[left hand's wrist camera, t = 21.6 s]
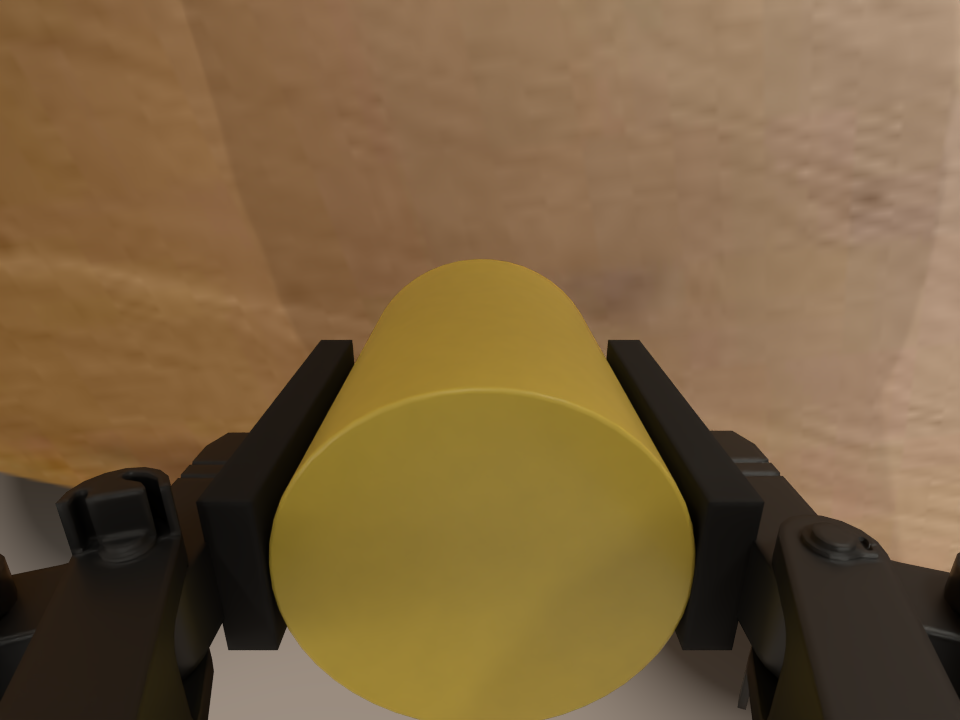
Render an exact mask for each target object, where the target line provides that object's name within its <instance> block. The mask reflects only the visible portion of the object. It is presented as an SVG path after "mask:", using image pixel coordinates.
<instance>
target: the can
mask: <svg viewBox="0 0 960 720" xmlns="http://www.w3.org/2000/svg"><path fill="white" fill-rule="evenodd" d="M695 555H696V546H695V539H694V532H693V525H692V522H691V519H690V515H689V512H688V509H687V506H686V503H685V501H684V499H683V497H682V495H681V493H680V491H679V489H678V487H677V485H676V483H675V481H674V479H673V477H672V476H671V474H670V472H669V470H668V468H667V467H666V465H665V463H664V461H663V459H662V458H661V456H660V454H659V452H658V451H657V449H656V447H655V445H654V443H653V442H652V440H651V438H650V436H649V435H648V433H647V431H646V429H645V427H644V426H643V424H642V422H641V420H640V418H639V417H638V415H637V413H636V411H635V410H634V408H633V406H632V404H631V402H630V401H629V399H628V397H627V395H626V394H625V392H624V390H623V388H622V386H621V385H620V383H619V381H618V379H617V378H616V376H615V374H614V372H613V370H612V369H611V367H610V365H609V363H608V361H607V360H606V358H605V356H604V354H603V353H602V351H601V349H600V347H599V345H598V344H597V342H596V340H595V338H594V337H593V335H592V333H591V331H590V329H589V328H588V326H587V324H586V322H585V320H584V319H583V317H582V315H581V313H580V312H579V310H578V309H577V308H576V306H575V305H574V303H573V302H572V300H571V299H570V298H569V297H568V296H567V295H566V294H565V293H564V292H563V291H562V290H561V289H560V288H559V287H557V286H556V285H555V284H554V283H552V282H551V281H550V280H548V279H547V278H545V277H543V276H542V275H540V274H539V273H537V272H535V271H532V270H530V269H528V268H526V267H523V266H520V265H517V264H513V263H510V262H505V261H499V260H492V259H473V260H464V261H458V262H454V263H450V264H446V265H443V266H440V267H438V268H435V269H432V270H430V271H428V272H426V273H425V274H423V275H421V276H419V277H417V278H416V279H414V280H413V281H412V282H410V283H409V284H408V285H406V286H405V287H404V288H403V289H402V290H401V291H400V292H399V293H398V294H397V295H396V296H395V297H394V298H393V299H392V301H391V302H390V303H389V304H388V306H387V307H386V308H385V310H384V312H383V313H382V315H381V317H380V319H379V321H378V322H377V324H376V326H375V328H374V330H373V331H372V333H371V335H370V337H369V339H368V341H367V342H366V344H365V346H364V348H363V350H362V351H361V353H360V355H359V357H358V359H357V361H356V362H355V364H354V366H353V368H352V370H351V372H350V373H349V375H348V377H347V379H346V381H345V382H344V384H343V386H342V388H341V390H340V392H339V393H338V395H337V397H336V399H335V401H334V402H333V404H332V406H331V408H330V410H329V412H328V413H327V415H326V417H325V419H324V421H323V423H322V424H321V426H320V428H319V430H318V432H317V433H316V435H315V437H314V439H313V441H312V443H311V444H310V446H309V448H308V450H307V452H306V453H305V455H304V457H303V459H302V461H301V463H300V464H299V466H298V468H297V470H296V472H295V473H294V475H293V477H292V479H291V481H290V483H289V484H288V486H287V488H286V490H285V492H284V494H283V495H282V497H281V500H280V503H279V506H278V508H277V511H276V514H275V517H274V519H273V525H272V530H271V535H270V541H269V569H270V576H271V582H272V589H273V592H274V595H275V598H276V602H277V605H278V608H279V611H280V613H281V615H282V617H283V619H284V621H285V623H286V625H287V627H288V629H289V630H290V632H291V633H292V635H293V636H294V638H295V639H296V641H297V642H298V644H299V645H300V646H301V648H302V649H303V650H304V651H305V652H306V653H307V655H308V656H309V657H310V658H311V659H312V660H313V661H314V662H315V663H316V665H318V666H319V667H320V668H321V669H322V670H323V671H325V672H326V673H327V674H328V675H329V676H330V677H331V678H333V679H334V680H335V681H337V682H338V683H340V684H341V685H343V686H344V687H345V688H347V689H348V690H350V691H351V692H353V693H355V694H356V695H358V696H360V697H362V698H364V699H366V700H368V701H370V702H372V703H373V704H376V705H378V706H381V707H383V708H386V709H388V710H390V711H393V712H395V713H399V714H402V715H405V716H409V717H412V718H416V719H419V720H545V719H548V718H552V717H556V716H559V715H563V714H566V713H568V712H571V711H573V710H576V709H579V708H581V707H584V706H586V705H588V704H590V703H592V702H594V701H596V700H598V699H600V698H602V697H604V696H606V695H608V694H609V693H611V692H613V691H614V690H616V689H617V688H619V687H620V686H622V685H624V684H625V683H626V682H628V681H629V680H630V679H631V678H633V677H634V676H635V675H636V674H638V673H639V672H640V671H641V670H643V669H644V668H645V667H646V665H647V664H648V663H649V662H650V661H651V660H652V659H653V658H654V657H655V656H656V655H657V654H658V653H659V652H660V651H661V649H662V648H663V647H664V645H665V644H666V643H667V641H668V640H669V639H670V637H671V636H672V634H673V633H674V631H675V629H676V627H677V625H678V623H679V622H680V620H681V618H682V616H683V614H684V611H685V608H686V606H687V603H688V600H689V598H690V593H691V588H692V582H693V576H694V570H695Z"/></svg>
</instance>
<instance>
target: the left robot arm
mask: <svg viewBox="0 0 960 720" xmlns="http://www.w3.org/2000/svg"><path fill="white" fill-rule="evenodd" d="M606 360H607V361H608V363H609V365H610V367H611V369H612V370H613V372H614V374H615V376H616V378H617V379H618V381H619V383H620V385H621V386H622V388H623V390H624V392H625V394H626V395H627V397H628V399H629V401H630V402H631V404H632V406H633V408H634V410H635V411H636V413H637V415H638V417H639V418H640V420H641V422H642V424H643V426H644V427H645V429H646V431H647V433H648V435H649V436H650V438H651V440H652V442H653V443H654V445H655V447H656V449H657V451H658V452H659V454H660V456H661V458H662V459H663V461H664V463H665V465H666V467H667V468H668V470H669V472H670V474H671V476H672V477H673V479H674V481H675V483H676V485H677V487H678V489H679V491H680V493H681V495H682V497H683V499H684V501H685V503H686V506H687V509H688V512H689V515H690V519H691V522H692V525H693V532H694V539H695V546H696V555H695V570H694V576H693V582H692V588H691V593H690V598H689V600H688V603H687V606H686V608H685V611H684V614H683V616H682V618H681V620H680V622H679V623H678V625H677V627H676V629H675V632H676V634H677V637H678V639H679V642H680V644H681V647H682V649H683V650H732V647H733V643H734V638H735V634H736V629H737V625H738V621H739V622H740V624H741V626H742V628H743V630H744V632H745V634H746V636H747V637H748V639H749V641H750V643H751V649H750V653H749V657H748V661H747V665H746V670H745V674H744V678H743V682H742V686H741V691H740V695H739V701H738V708H741V709H746V706H747V702H748V698H749V696H750V704H751V713H752V720H960V553H958V554H957V556H956V559H955V561H954V564H953V566H952V569H951V572H950V573H949V572H944V571H939V570H934V569H929V568H924V567H919V566H915V565H910V564H905V563H900V562H896V561H892V560H890V558H889V556H888V554H887V553H886V552H885V551H884V549H883V548H882V547H881V546H880V544H879V543H878V542H877V541H876V540H874V539H873V538H872V537H870V536H869V535H867V534H866V533H865V532H863V531H862V530H860V529H858V528H856V527H853V526H851V525H849V524H847V523H845V522H842V521H839V520H836V519H832V518H828V517H824V516H819V515H817V514H816V513H815V512H814V511H813V509H812V508H811V507H810V506H809V505H808V504H807V503H806V502H805V500H804V499H803V498H802V497H801V496H800V495H799V494H798V493H797V491H796V490H795V489H794V488H793V487H792V486H791V485H790V484H789V482H788V481H787V480H786V479H785V478H784V477H783V476H780V472H779V471H778V470H777V469H776V468H775V467H774V465H773V464H772V463H769V462H768V459H767V458H766V456H765V455H764V454H763V453H762V452H761V451H760V450H759V449H758V447H757V446H756V445H755V444H753V443H752V442H750V441H748V440H747V439H745V438H743V437H742V436H740V435H738V434H737V433H735V432H733V431H709V429H708V428H707V427H706V426H705V424H704V423H703V422H702V420H701V419H700V418H699V417H698V415H697V414H696V413H695V411H694V410H693V409H692V407H691V406H690V405H689V404H688V402H687V401H686V400H685V398H684V397H683V396H682V395H681V393H680V392H679V391H678V389H677V388H676V387H675V386H674V384H673V383H672V382H671V380H670V379H669V378H668V377H667V375H666V374H665V373H664V371H663V370H662V369H661V367H660V366H659V365H658V364H657V362H656V361H655V360H654V358H653V357H652V356H651V355H650V353H649V352H648V351H647V349H646V348H645V347H644V346H643V344H642V343H641V342H640V340H608V348H607V359H606ZM353 366H354V355H353V343H352V340H321V341H320V342H319V343H318V345H317V346H316V347H315V349H314V350H313V351H312V353H311V354H310V355H309V356H308V358H307V359H306V360H305V362H304V363H303V364H302V365H301V367H300V368H299V369H298V371H297V372H296V373H295V374H294V376H293V377H292V378H291V380H290V381H289V382H288V383H287V385H286V386H285V387H284V389H283V390H282V391H281V393H280V394H279V395H278V396H277V398H276V399H275V400H274V402H273V403H272V404H271V405H270V407H269V408H268V409H267V411H266V412H265V413H264V414H263V416H262V417H261V418H260V420H259V421H258V422H257V424H256V425H255V426H254V427H253V429H252V430H251V431H250V433H227V434H225V435H224V436H222V437H220V438H219V439H217V440H215V441H214V442H212V443H210V444H209V445H207V446H206V447H205V448H204V449H203V450H202V451H201V453H200V454H199V455H198V456H197V457H196V458H195V459H194V461H193V463H192V465H189V466H188V467H187V468H186V470H185V471H184V472H183V473H182V474H181V478H178V479H177V480H176V481H175V482H174V483H173V484H172V485H171V484H170V480H169V476H168V475H166V474H165V473H164V472H162V471H161V470H158V469H153V468H147V467H139V468H125V469H121V470H117V471H112V472H108V473H104V474H102V475H99V476H96V477H94V478H91V479H89V480H86V481H84V482H82V483H81V484H79V485H77V486H76V487H74V488H72V489H71V490H69V491H68V492H66V493H65V494H64V495H63V496H62V497H61V499H60V500H59V501H58V502H57V503H56V506H57V509H58V512H59V516H60V519H61V522H62V525H63V528H64V531H65V534H66V537H67V540H68V543H69V546H70V549H71V552H72V557H71V559H70V561H69V563H67V564H63V565H59V566H53V567H49V568H44V569H39V570H34V571H29V572H24V573H19V574H14V575H11V573H10V570H9V568H8V565H7V562H6V560H5V557H4V556H3V555H1V554H0V720H208V714H209V706H210V698H211V690H212V682H213V673H214V669H213V663H212V657H211V653H210V649H209V647H210V645H211V643H212V641H213V639H214V637H215V636H216V634H217V632H218V630H219V628H220V626H221V624H222V623H223V627H224V632H225V637H226V641H227V646H228V650H278V648H279V645H280V643H281V640H282V638H283V635H284V633H285V630H286V628H287V625H286V623H285V621H284V619H283V617H282V615H281V613H280V611H279V608H278V605H277V602H276V598H275V595H274V592H273V589H272V582H271V576H270V569H269V541H270V535H271V530H272V525H273V519H274V517H275V514H276V511H277V508H278V506H279V503H280V500H281V497H282V495H283V494H284V492H285V490H286V488H287V486H288V484H289V483H290V481H291V479H292V477H293V475H294V473H295V472H296V470H297V468H298V466H299V464H300V463H301V461H302V459H303V457H304V455H305V453H306V452H307V450H308V448H309V446H310V444H311V443H312V441H313V439H314V437H315V435H316V433H317V432H318V430H319V428H320V426H321V424H322V423H323V421H324V419H325V417H326V415H327V413H328V412H329V410H330V408H331V406H332V404H333V402H334V401H335V399H336V397H337V395H338V393H339V392H340V390H341V388H342V386H343V384H344V382H345V381H346V379H347V377H348V375H349V373H350V372H351V370H352V368H353Z"/></svg>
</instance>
